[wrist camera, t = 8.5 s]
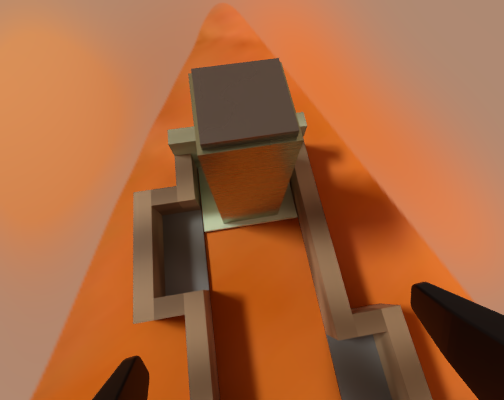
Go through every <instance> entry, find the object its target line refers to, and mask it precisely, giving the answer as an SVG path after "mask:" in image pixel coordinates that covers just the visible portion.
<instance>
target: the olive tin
mask: <svg viewBox="0 0 504 400" xmlns="http://www.w3.org/2000/svg"><path fill="white" fill-rule="evenodd" d="M191 71H192V73H191V74H188V75H189V84H190V93H191V102H192V111H193V120H194V129H195V138H196V147H197V156H198V158H199V161H200V164H201V166H202V169H203V171H204V174H205V176H206V179H207V182H208V184H209V187H210V189H211V192H212V195H213V197H214V200H215V202H216V205H217V208H218V210H219V213H220V215H221V218H222V221H223V223H224V224H225V223H231V222H237V221H243V220H249V219H255V218H261V217H267V216H273V215H278V212H279V209H280V206H281V204H282V201H283V198H284V195H285V192H286V189H287V186H288V184H289V181H290V178H291V175H292V172H293V169H294V166H295V164H296V161H297V158H298V155H299V152H300V149H301V147H302V144H303V141H304V139H303V136H302V132H301V129H300V125H299V122H298V118H297V115H296V111H295V108H294V105H293V101H292V98H291V94H290V91H289V87H288V84H287V81H286V77H285V74H284V70H283V67H282V63H281V62H280V61H279V58H276V59H268V60H260V61H252V62H243V63H235V64H227V65H219V66H211V67H203V68H195V69H191Z"/></svg>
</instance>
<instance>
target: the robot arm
mask: <svg viewBox="0 0 504 400" xmlns="http://www.w3.org/2000/svg"><path fill="white" fill-rule="evenodd" d="M411 307H412V309H413V311H414V312H415V314H416V315H417V317H418V318H419V320H420V321H421V323H422V324H423V326H424V327H425V329H426V330H427V332H428V333H429V335H430V336H431V338H432V339H433V341H434V342H435V344H436V345H437V347H438V348H439V349H440V351H441V352H442V354H443V355H444V357H445V358H446V359H447V361H448V362H449V363H450V364H451V366H452V367H453V368H454V369H455V371H456V372H457V373H458V374H459V376H460V377H461V378H462V379H463V381H464V382H465V383H466V384H467V386H468V387H469V388H470V389H471V391H472V392H473V393H474V394H475V396H476V397H477V398H478V399H479V400H504V315H502V314H499V313H497V312H495V311H493V310H490V309H488V308H486V307H483V306H481V305H479V304H476V303H474V302H472V301H469V300H467V299H465V298H463V297H460V296H458V295H456V294H453V293H451V292H449V291H446V290H444V289H442V288H439V287H437V286H435V285H432V284H430V283H427V282H421V283H417V284H414V285H412V288H411ZM148 387H149V372H148V370H147V368H146V366H145V365H144V363H143V361H142V360H141V358H140V357H139V356H133V357H129V358H126V359H124V360H123V361H122V363H121V364H120V365H119V366H118V368H117V369H116V370H115V371H114V373H113V374H112V375H111V376H110V378H109V379H108V380H107V381H106V383H105V384H104V385H103V387H102V388H101V389H100V390H99V392H98V393H97V394H96V395H95V397H94V398H93V399H92V400H147V397H148Z"/></svg>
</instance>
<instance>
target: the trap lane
mask: <svg viewBox="0 0 504 400" xmlns="http://www.w3.org/2000/svg"><path fill="white" fill-rule="evenodd" d="M296 115H297V118H298V122H299V125H300V129H301V132H302V136H304V133H305V131H306V128H307V123H306V120H305V117H304V113H303V112H301V113H296ZM168 145H169V146H170V148H171V150H172V152H173V154H174V155H175V169H176V184H177V186H174V187H167V188H161V189H154V190H147V191H140V192H134V218H133V324H135V323H141V322H147V321H152V320H158V319H163V318H169V317H175V316H180V315H185V326H186V342H187V358H188V374H189V389H190V400H220V392H219V382H218V372H217V362H216V352H215V342H214V331H213V321H212V311H211V301H210V291H209V281H208V270H207V260H206V250H205V240H204V232H210V231H217V230H223V229H229V228H236V227H242V226H248V225H254V224H261V223H267V222H273V221H280V220H286V219H292V218H297V217H298V219H299V223H300V228H301V232H302V236H303V240H304V244H305V248H306V253H307V257H308V261H309V265H310V269H311V273H312V278H313V282H314V286H315V290H316V294H317V299H318V303H319V307H320V311H321V315H322V319H323V324H324V328H325V332H326V336H327V340H328V344H329V349H330V353H331V357H332V361H333V365H334V369H335V374H336V378H337V382H338V386H339V390H340V395H341V399H342V400H433V399H432V396H431V393H430V390H429V388H428V385H427V382H426V379H425V376H424V373H423V370H422V367H421V364H420V361H419V359H418V356H417V353H416V350H415V347H414V344H413V341H412V338H411V335H410V332H409V330H408V327H407V324H406V321H405V318H404V315H403V312H402V309H401V306H400V305H390V304H375V305H369V306H364V307H359V308H353V309H351V308H350V305H349V301H348V297H347V294H346V290H345V287H344V283H343V280H342V276H341V272H340V269H339V265H338V262H337V258H336V254H335V251H334V247H333V244H332V240H331V237H330V233H329V229H328V226H327V222H326V219H325V215H324V212H323V208H322V204H321V201H320V197H319V194H318V190H317V187H316V183H315V179H314V176H313V172H312V169H311V165H310V161H309V158H308V154H307V151H306V147H305V144H304V141H303V144H302V147H301V149H300V152H299V155H298V158H297V161H296V164H295V166H294V169H293V172H292V175H291V178H290V181H289V182H290V183H289V184H288V186H287V189H286V192H285V195H284V198H283V201H282V204H281V206H280V209H279V212H278V215H273V216H267V217H261V218H255V219H249V220H243V221H237V222H231V223H225V224H224V223H223V221H222V218H221V215H220V213H219V210H218V208H217V205H216V202H215V200H214V197H213V195H212V192H211V189H210V187H209V184H208V182H207V179H206V176H205V174H204V171H203V169H202V166H201V164H200V161H199V158H198V156H197V147H196V138H195V129H194V127H187V128H179V129H171V130H168ZM198 172H199V179H198ZM199 182H200V189H199ZM290 186H291V187H290ZM291 190H292V191H291ZM200 192H201V199H200ZM292 194H293V196H292ZM293 198H294V200H293ZM201 202H202V209H201ZM294 203H295V204H294ZM295 207H296V208H295ZM296 211H297V212H296ZM202 212H203V220H202ZM297 215H298V216H297ZM203 222H204V230H203Z"/></svg>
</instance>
